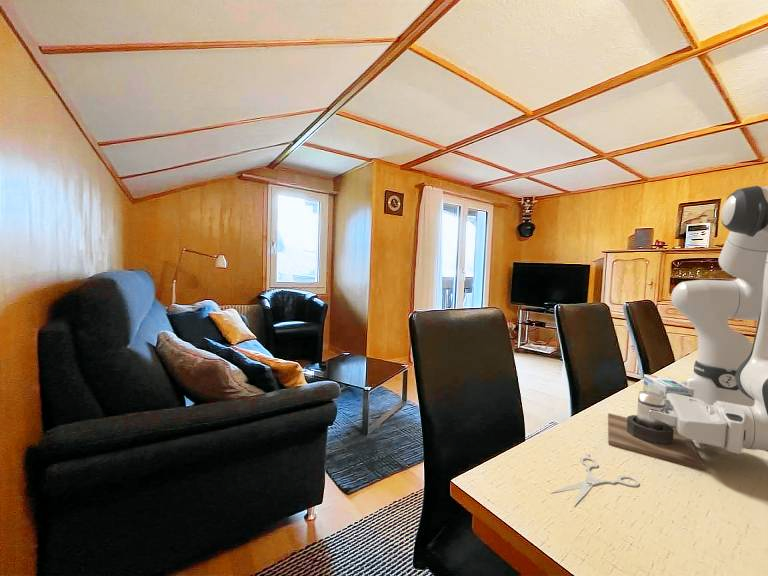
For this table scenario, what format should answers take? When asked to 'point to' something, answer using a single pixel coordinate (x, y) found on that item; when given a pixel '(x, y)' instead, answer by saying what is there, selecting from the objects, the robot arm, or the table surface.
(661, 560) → the table surface
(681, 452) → the ring collar board
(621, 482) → the scissors
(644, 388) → the light bulb box
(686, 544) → the table surface
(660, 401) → the cylinder
